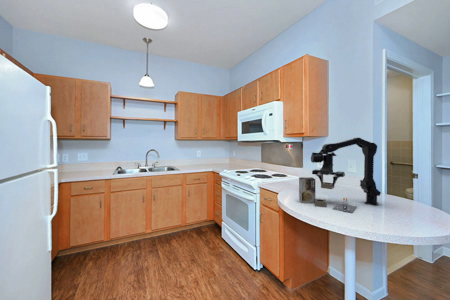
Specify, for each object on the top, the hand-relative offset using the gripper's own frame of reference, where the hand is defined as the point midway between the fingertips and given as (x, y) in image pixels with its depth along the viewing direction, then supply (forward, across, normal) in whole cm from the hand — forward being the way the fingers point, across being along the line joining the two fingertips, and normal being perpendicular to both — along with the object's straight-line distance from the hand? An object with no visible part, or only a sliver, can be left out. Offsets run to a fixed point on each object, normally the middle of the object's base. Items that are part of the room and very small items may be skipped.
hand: (327, 185), depth 129 cm
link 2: (+1, 0, 0) cm, 1 cm away
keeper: (+11, +12, -7) cm, 17 cm away
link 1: (+11, -1, -11) cm, 15 cm away
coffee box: (+11, -10, -9) cm, 18 cm away
